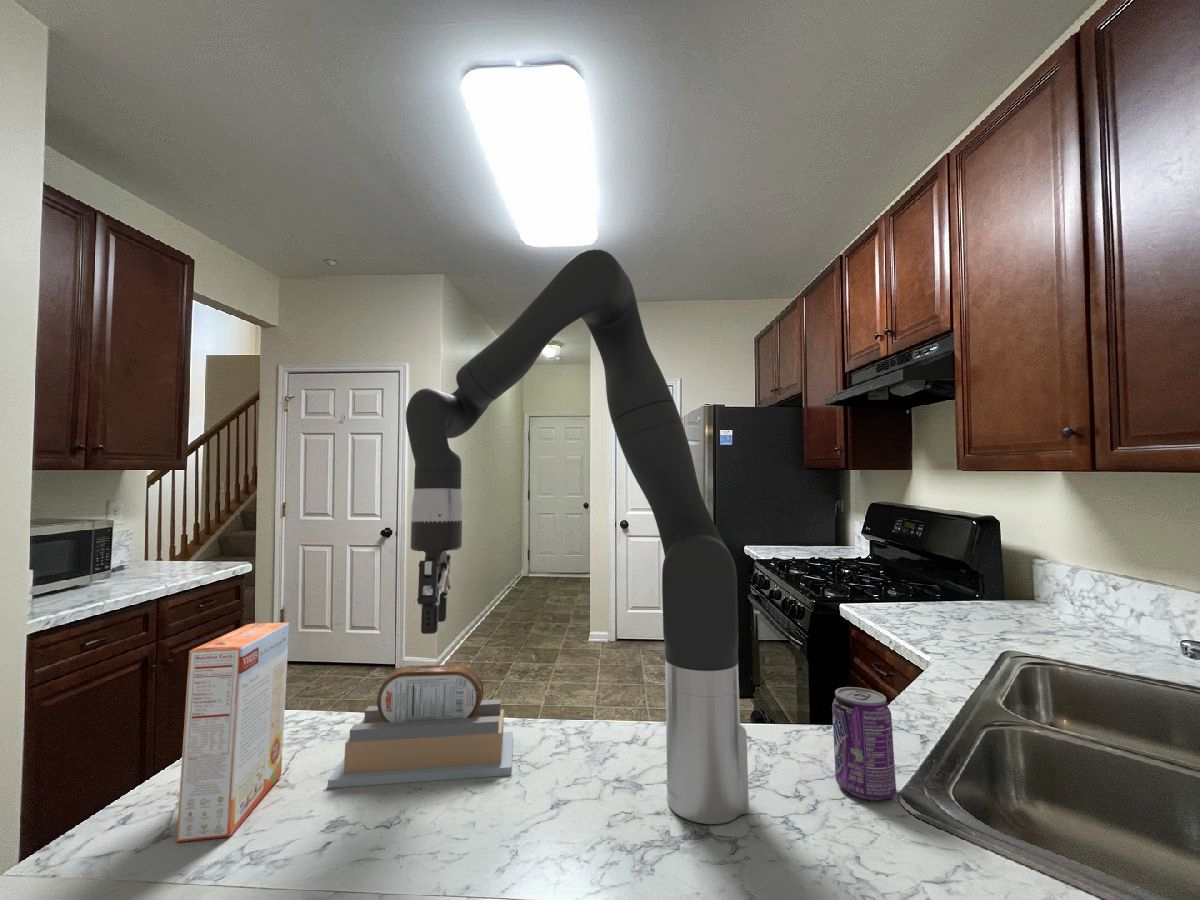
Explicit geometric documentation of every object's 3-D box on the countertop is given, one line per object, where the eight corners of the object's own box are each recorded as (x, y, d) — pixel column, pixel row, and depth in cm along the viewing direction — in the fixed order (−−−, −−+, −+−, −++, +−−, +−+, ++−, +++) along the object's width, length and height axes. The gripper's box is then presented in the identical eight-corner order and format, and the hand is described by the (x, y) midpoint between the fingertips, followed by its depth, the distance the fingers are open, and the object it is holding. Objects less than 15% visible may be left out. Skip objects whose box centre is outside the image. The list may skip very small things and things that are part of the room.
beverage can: (841, 771, 74) (837, 682, 75) (899, 787, 70) (893, 692, 71) (830, 793, 68) (825, 696, 69) (892, 811, 64) (886, 708, 65)
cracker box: (234, 781, 71) (246, 622, 74) (282, 777, 72) (293, 620, 75) (169, 845, 58) (186, 647, 60) (230, 839, 59) (244, 645, 61)
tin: (482, 719, 80) (484, 661, 80) (480, 728, 76) (482, 667, 77) (379, 724, 78) (382, 665, 79) (372, 733, 75) (375, 671, 76)
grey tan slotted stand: (512, 738, 85) (513, 695, 85) (511, 774, 73) (512, 724, 74) (355, 748, 81) (357, 703, 82) (327, 788, 69) (330, 735, 70)
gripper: (456, 519, 75) (453, 636, 73) (466, 518, 89) (464, 617, 87) (401, 519, 74) (397, 639, 72) (420, 518, 88) (417, 618, 86)
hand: (434, 627), depth 79 cm, fingers open, 8 cm apart
